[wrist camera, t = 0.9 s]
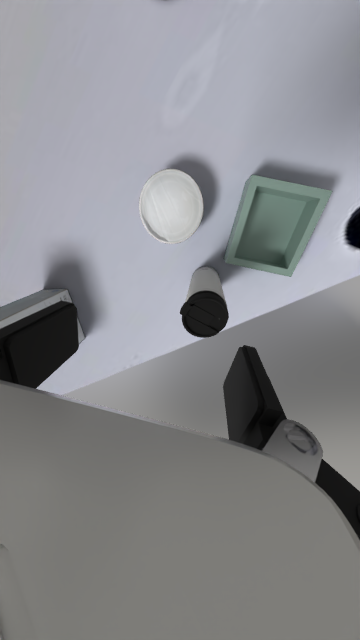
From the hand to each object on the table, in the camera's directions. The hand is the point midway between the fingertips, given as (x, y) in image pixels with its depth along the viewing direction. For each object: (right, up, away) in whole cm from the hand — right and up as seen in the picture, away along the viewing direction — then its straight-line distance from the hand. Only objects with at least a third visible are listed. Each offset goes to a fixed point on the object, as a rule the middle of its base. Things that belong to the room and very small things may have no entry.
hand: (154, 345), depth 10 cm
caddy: (+18, +19, +25) cm, 36 cm away
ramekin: (0, +23, +26) cm, 34 cm away
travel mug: (+7, +11, +31) cm, 34 cm away
